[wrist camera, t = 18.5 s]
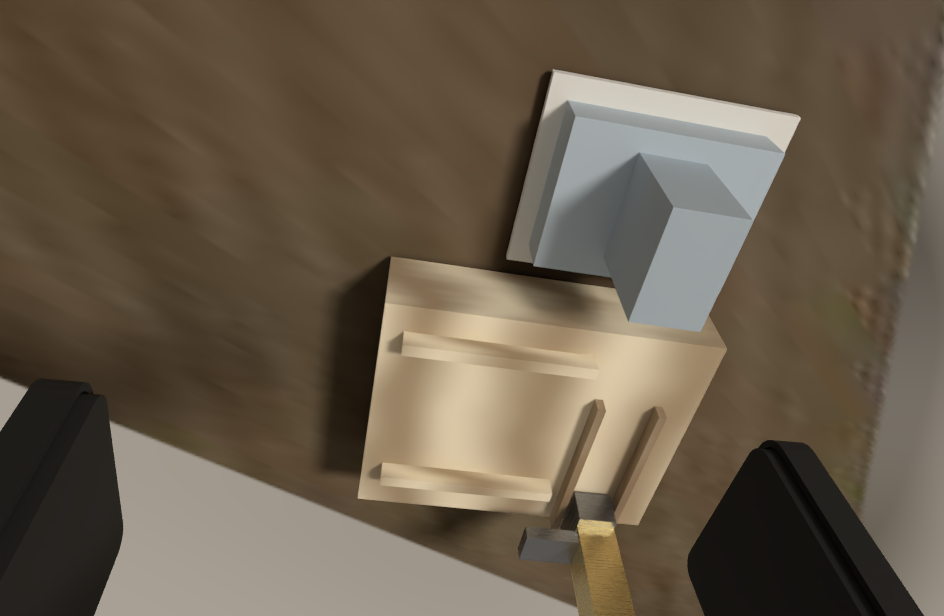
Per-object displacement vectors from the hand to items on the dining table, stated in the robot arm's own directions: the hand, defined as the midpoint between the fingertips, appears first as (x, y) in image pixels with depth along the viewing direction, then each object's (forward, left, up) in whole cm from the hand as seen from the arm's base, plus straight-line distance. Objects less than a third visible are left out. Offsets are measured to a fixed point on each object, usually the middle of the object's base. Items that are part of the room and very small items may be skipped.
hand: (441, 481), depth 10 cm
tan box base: (+7, -16, -22) cm, 28 cm away
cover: (+10, -4, -21) cm, 24 cm away
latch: (+10, -21, -18) cm, 29 cm away
